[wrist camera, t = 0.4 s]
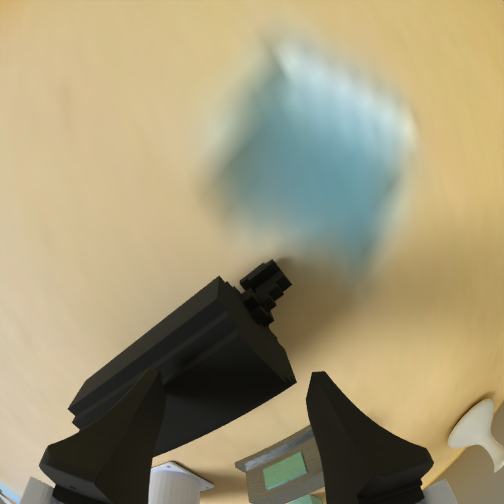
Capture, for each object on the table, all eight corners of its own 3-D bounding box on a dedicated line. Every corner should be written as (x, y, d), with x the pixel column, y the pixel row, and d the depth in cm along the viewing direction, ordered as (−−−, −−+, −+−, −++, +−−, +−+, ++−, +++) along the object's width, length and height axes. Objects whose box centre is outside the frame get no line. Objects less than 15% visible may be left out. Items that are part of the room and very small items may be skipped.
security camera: (303, 299, 23) (350, 365, 13) (150, 403, 24) (128, 478, 14) (252, 233, 21) (273, 267, 12) (100, 356, 22) (55, 424, 13)
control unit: (259, 476, 28) (264, 513, 21) (235, 462, 27) (237, 503, 20) (338, 435, 27) (356, 472, 21) (319, 419, 26) (336, 460, 20)
